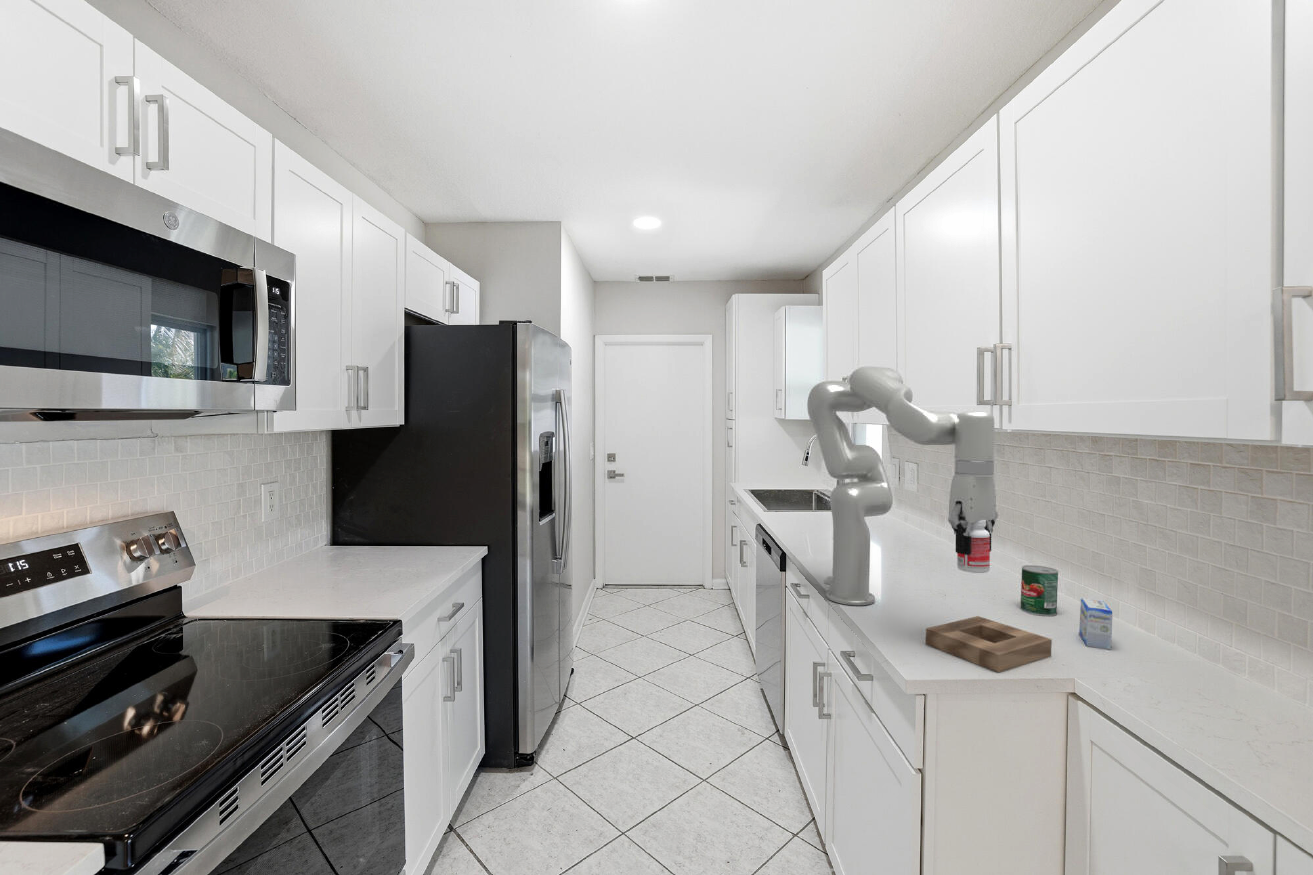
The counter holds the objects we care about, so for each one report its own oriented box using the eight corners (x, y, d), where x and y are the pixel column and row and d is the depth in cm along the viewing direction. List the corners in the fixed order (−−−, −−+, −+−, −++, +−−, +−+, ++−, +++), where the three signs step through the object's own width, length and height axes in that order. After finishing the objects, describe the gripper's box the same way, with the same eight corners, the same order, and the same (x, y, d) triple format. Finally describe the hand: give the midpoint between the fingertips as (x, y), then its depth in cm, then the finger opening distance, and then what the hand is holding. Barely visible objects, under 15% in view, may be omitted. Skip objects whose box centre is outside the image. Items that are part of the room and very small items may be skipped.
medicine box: (1078, 634, 135) (1080, 597, 134) (1102, 638, 133) (1104, 600, 132) (1086, 646, 128) (1087, 607, 127) (1111, 650, 126) (1113, 610, 125)
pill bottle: (995, 571, 127) (995, 519, 127) (980, 575, 123) (980, 522, 123) (966, 565, 132) (967, 516, 132) (951, 569, 128) (951, 518, 128)
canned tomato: (1015, 610, 152) (1016, 567, 152) (1027, 604, 157) (1028, 563, 156) (1050, 618, 146) (1051, 574, 145) (1061, 612, 151) (1063, 569, 150)
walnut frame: (925, 644, 128) (926, 628, 128) (977, 631, 136) (978, 616, 136) (998, 672, 114) (998, 654, 114) (1051, 655, 122) (1051, 639, 122)
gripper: (982, 467, 135) (981, 545, 135) (932, 469, 127) (931, 552, 127) (1015, 469, 128) (1014, 551, 128) (964, 471, 120) (964, 559, 120)
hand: (973, 551), depth 127 cm, fingers closed on pill bottle, 6 cm apart
